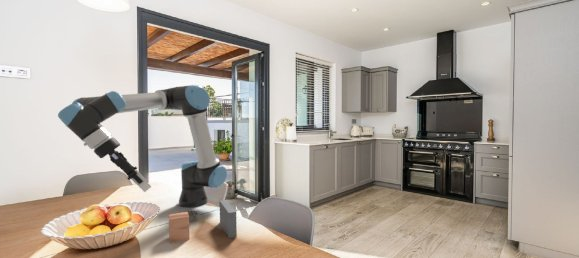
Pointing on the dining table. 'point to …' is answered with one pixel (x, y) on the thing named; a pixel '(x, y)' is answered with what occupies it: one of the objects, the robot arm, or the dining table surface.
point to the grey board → (228, 218)
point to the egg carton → (192, 214)
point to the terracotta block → (179, 227)
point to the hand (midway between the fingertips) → (146, 186)
